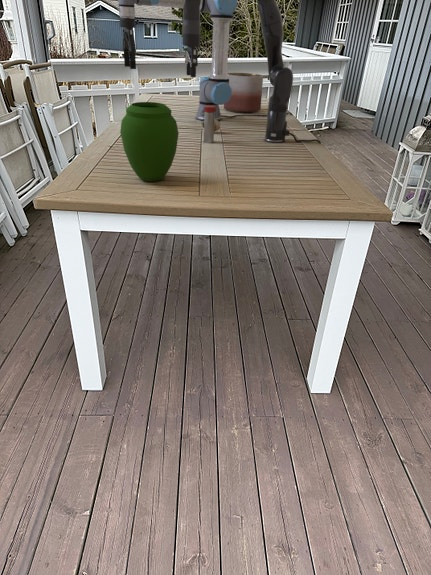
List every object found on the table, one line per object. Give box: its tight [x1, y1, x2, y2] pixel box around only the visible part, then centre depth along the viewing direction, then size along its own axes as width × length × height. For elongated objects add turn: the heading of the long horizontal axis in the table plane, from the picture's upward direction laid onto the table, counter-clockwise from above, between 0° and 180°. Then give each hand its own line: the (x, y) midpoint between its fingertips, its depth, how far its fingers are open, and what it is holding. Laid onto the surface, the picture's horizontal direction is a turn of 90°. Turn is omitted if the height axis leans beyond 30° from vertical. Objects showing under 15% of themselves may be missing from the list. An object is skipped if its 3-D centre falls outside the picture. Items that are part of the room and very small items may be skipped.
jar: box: [203, 112, 215, 144], centre depth 195 cm, size 5×5×16 cm
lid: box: [204, 105, 216, 112], centre depth 191 cm, size 6×6×2 cm
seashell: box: [202, 118, 221, 133], centre depth 215 cm, size 10×6×8 cm, turn 97°
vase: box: [119, 101, 179, 182], centre depth 140 cm, size 20×20×24 cm
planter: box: [223, 72, 264, 114], centre depth 276 cm, size 25×25×22 cm
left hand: (130, 67), depth 208 cm, fingers open, 13 cm apart
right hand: (191, 76), depth 180 cm, fingers open, 8 cm apart
